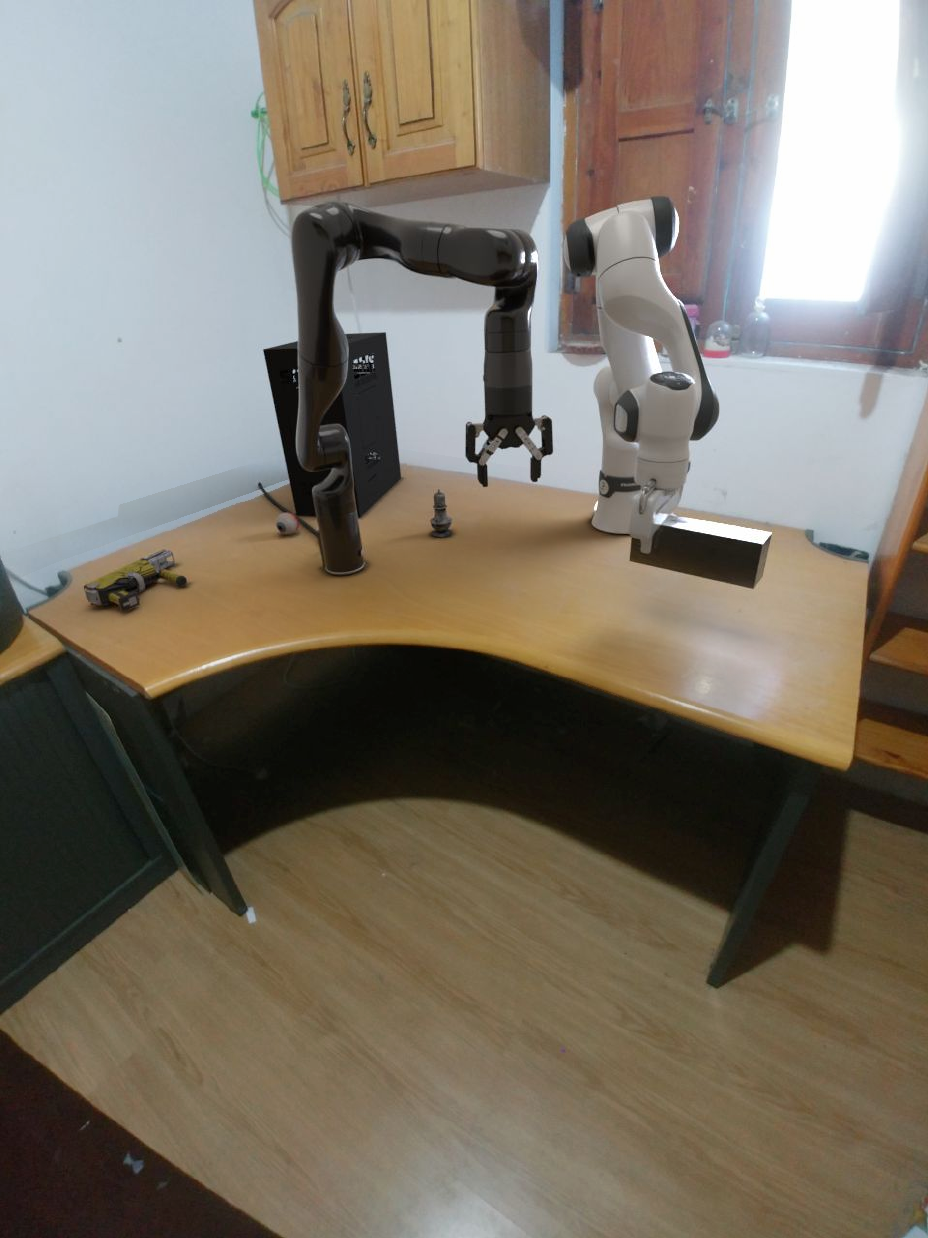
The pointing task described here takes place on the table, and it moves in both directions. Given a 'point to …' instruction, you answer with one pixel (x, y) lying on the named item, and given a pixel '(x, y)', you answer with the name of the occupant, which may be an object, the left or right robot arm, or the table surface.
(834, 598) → the table surface
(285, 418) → the cardboard box
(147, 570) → the toy gun
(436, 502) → the salt shaker
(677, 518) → the bar
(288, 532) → the eyeball
